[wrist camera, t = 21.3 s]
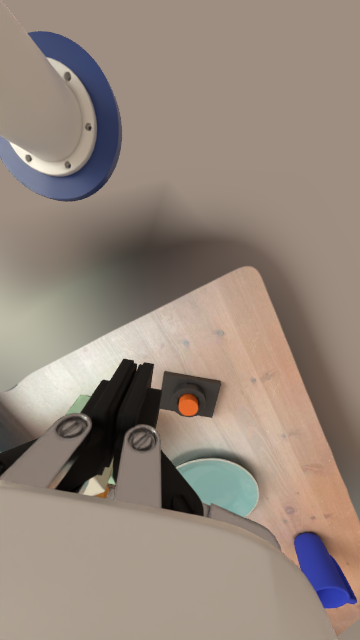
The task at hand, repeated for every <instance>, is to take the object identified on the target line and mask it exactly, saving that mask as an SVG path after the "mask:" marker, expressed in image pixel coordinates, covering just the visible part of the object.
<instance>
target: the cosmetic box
mask: <svg viewBox="0 0 360 640" xmlns="http://www.w3.org/2000/svg"><path fill="white" fill-rule="evenodd" d="M112 470H113V459H112V462H111V465H110V467H109V468H107V467H105V469H104V471H103V474H102V476H101V475H96V476H95V477H93V478H91V479H90V480H89V484H88V486H87V488H86V490H85V492H84V493H83V495H89V496H94V495H97V494H99V493H102V492H104V491H105V490H106V487H107V484H108V481H109V478H110V476H111V473H112Z"/></svg>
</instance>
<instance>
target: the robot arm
mask: <svg viewBox="0 0 360 640" xmlns="http://www.w3.org/2000/svg"><path fill="white" fill-rule="evenodd" d="M90 128H91V130H90ZM0 136H1V137H3V138H4V139H6V140H8V141H9V142H10V144H11V146H12V148H13V149H14V150H15V152H16V153H17V155H18V156H19V157H20V158H21V159H22V160H23V161H24V162H25V163H26V164H28V165H29V166H30V167H32V168H33V169H35V170H37V171H39V172H41V173H43V174H46V175H48V176H54V177H64V176H68V175H71V174H73V173H75V172H77V171H79V170H80V169H81V168H82V167H83V166H84V165H85V164H86V163H87V161H88V160H89V159H90V157H91V155H92V152H93V150H94V147H95V143H96V138H97V120H96V114H95V110H94V106H93V103H92V101H91V98H90V96H89V94H88V92H87V91H86V89H85V87H84V85H83V84H82V83H81V81H80V80H79V79H78V77H77V76H76V75H75V74H74V73H73V72H72V71H71V70H70V69H69V68H68V67H66V66H65V65H64V64H62V63H61V62H59V61H56V60H54V59H52V58H47V57H45V55H44V54H43V53H42V51H41V50H40V49H39V48H38V46H37V45H36V44H35V42H34V41H33V40H32V39H31V37H30V36H29V35H28V33H27V32H26V31H25V30H24V28H23V27H22V26H21V24H20V23H19V22H18V20H17V19H16V18H15V17H14V16H13V14H12V13H11V11H10V10H9V9H8V8H7V6H6V5H5V4H4V2H3V1H2V0H0ZM70 166H71V168H70ZM153 368H154V364H151V363H145V362H144V363H143V365H141V364H140V365H139V367H138V369H137V364H136V363H134V360H128V359H123V360H122V362H121V364H120V365H119V367H118V368H117V370H116V372H115V373H114V375H113V377H112V378H111V380H110V381H107V380H102V381H101V383H100V384H99V386H98V387H97V388H96V390H95V391H94V393H93V394H92V396H91V397H90V399H89V400H88V402H87V403H86V405H85V406H84V408H83V409H82V411H81V412H80V413H72V414H68V415H65V416H63V417H61V418H60V419H58V420H57V421H56V422H55V423H54V424H53V425H52V426H51V427H50V428H49V429H48V430H47V431H46V432H45V433H44V434H43V435H42V436H41V437H40V438H38V439H35V440H33V441H30V442H28V443H25V444H23V445H20V446H18V447H15V448H13V449H10V450H8V451H5V452H3V453H0V640H338V638H337V636H336V633H335V631H334V629H333V626H332V624H331V622H330V620H329V618H328V615H327V613H326V611H325V609H324V607H323V605H322V603H321V601H320V599H319V597H318V595H317V593H316V591H315V590H314V588H313V586H312V585H311V583H310V582H309V580H308V579H307V577H306V576H305V574H304V573H303V572H302V571H301V570H300V568H299V567H298V566H297V565H296V564H295V563H294V562H293V561H292V560H291V559H289V558H288V557H287V556H286V555H285V554H284V553H282V551H281V547H280V545H279V543H278V541H277V539H276V537H275V536H274V535H273V534H272V533H271V532H270V531H269V530H268V529H267V528H265V527H264V526H262V525H260V524H258V523H256V522H254V521H251V520H249V519H247V518H245V517H242V516H240V515H238V514H236V513H233V512H231V511H229V510H227V509H224V508H222V507H220V506H218V505H215V504H213V503H211V504H210V505H207V504H205V503H203V502H202V501H201V499H200V498H199V496H198V495H197V493H196V492H195V491H194V490H193V488H192V487H191V486H190V485H189V483H188V482H187V481H186V480H185V478H184V477H183V476H182V475H181V474H180V472H179V471H178V470H177V469H176V467H175V466H174V465H173V464H172V462H171V461H170V460H169V459H168V458H167V456H166V455H165V454H164V453H163V451H162V450H161V439H160V434H159V433H158V431H157V430H156V424H157V419H158V414H159V409H160V403H161V397H162V391H163V390H159V389H153V388H151V381H152V374H153ZM136 370H137V371H136ZM112 459H113V475H112V478H113V480H114V482H115V484H116V488H115V494H114V500H112V499H106V498H101V497H95V496H89V495H83V493H84V492H85V490H86V488H87V486H88V484H89V480H90V479H91V478H93V477H95V476H96V475H101V476H102V474H103V471H104V469H105V467H107V468H109V467H110V465H111V462H112Z"/></svg>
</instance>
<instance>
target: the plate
mask: <svg viewBox="0 0 360 640" xmlns="http://www.w3.org/2000/svg"><path fill="white" fill-rule="evenodd" d="M176 469H177V470H178V471H179V472H180V474H181V475H182V476H183V477H184V478H185V480H186V481H187V482H188V483H189V485H190V486H191V487H192V488H193V490H194V491H195V492H196V493H197V495H198V496H199V498H200V499H201V501H202V502H203V503H205V504H207V505H210V504H211V503H213V504H215V505H218V506H220V507H222V508H224V509H227V510H229V511H231V512H233V513H236V514H238V515H240V516H242V517H247V516H248V515H249V514H250V513H251V512H252V511H253V510H254V508H255V507H256V505H257V503H258V500H259V487H258V484H257V482H256V480H255V478H254V477H253V476H252V474H251V473H250V472H249V471H248V470H246V469H245V468H244V467H242V466H240V465H239V464H237V463H234V462H232V461H229V460H225V459H219V458H202V459H196V460H192V461H188V462H185V463H183V464H181V465H179V466H177V467H176Z"/></svg>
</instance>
